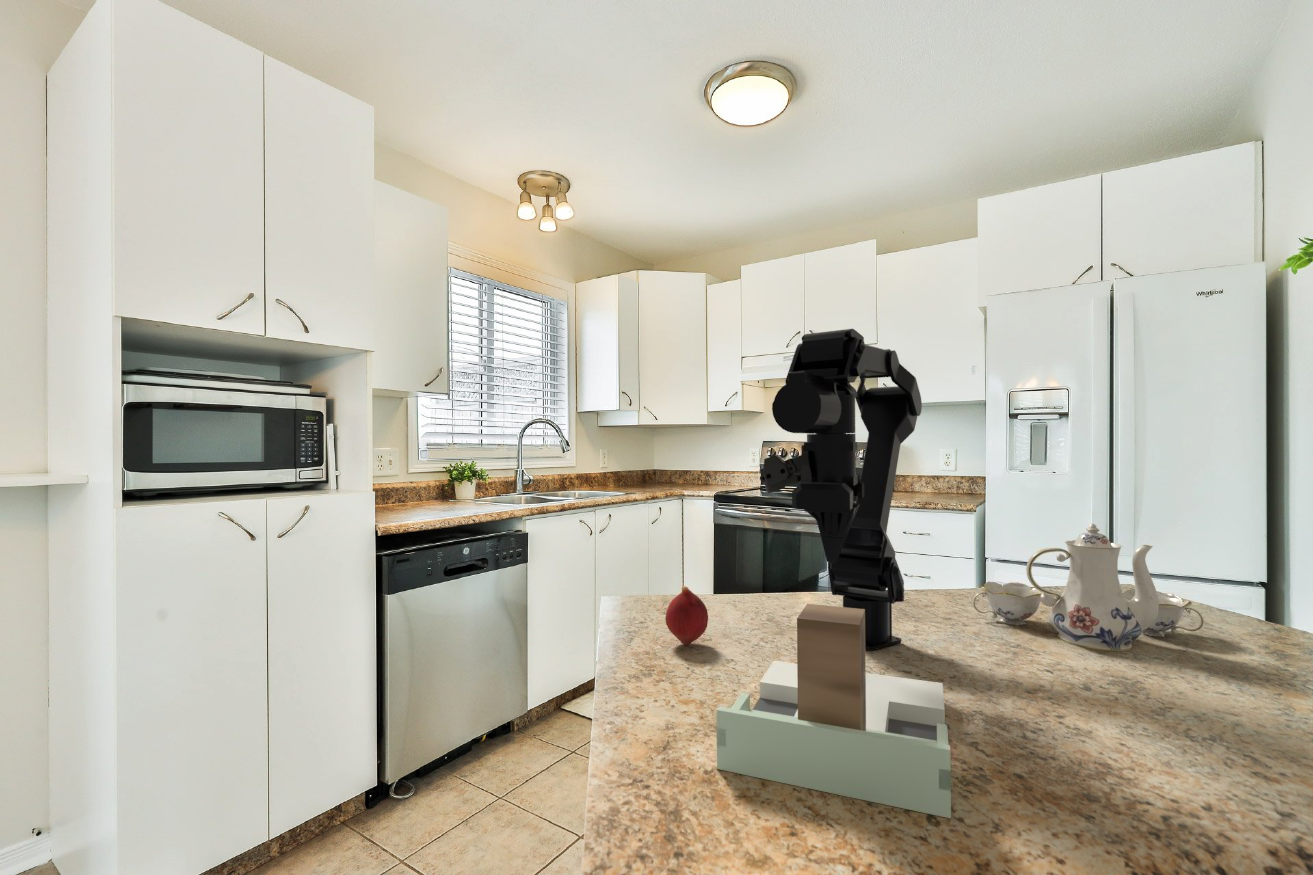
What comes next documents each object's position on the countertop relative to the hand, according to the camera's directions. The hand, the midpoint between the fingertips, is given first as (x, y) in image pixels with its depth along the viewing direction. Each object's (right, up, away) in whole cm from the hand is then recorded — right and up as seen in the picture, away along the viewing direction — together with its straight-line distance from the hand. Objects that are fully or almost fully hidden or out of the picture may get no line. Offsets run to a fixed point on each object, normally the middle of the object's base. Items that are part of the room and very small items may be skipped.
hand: (832, 562), depth 76 cm
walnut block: (-6, -11, -22) cm, 26 cm away
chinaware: (+40, -13, +13) cm, 44 cm away
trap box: (-4, -13, -17) cm, 22 cm away
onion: (-17, -13, +9) cm, 24 cm away
